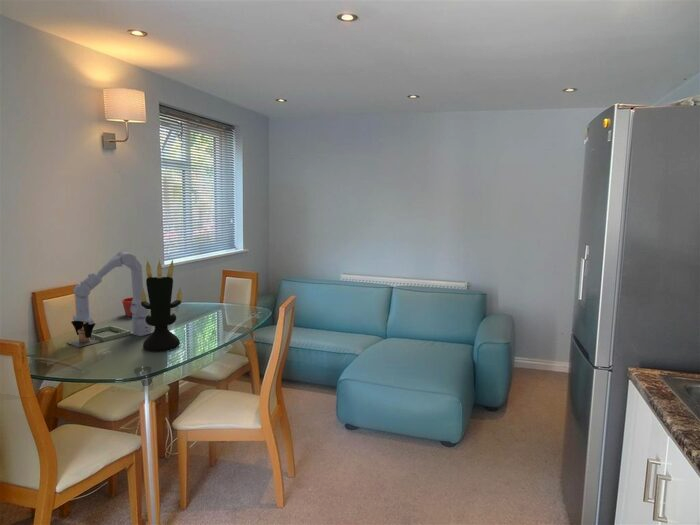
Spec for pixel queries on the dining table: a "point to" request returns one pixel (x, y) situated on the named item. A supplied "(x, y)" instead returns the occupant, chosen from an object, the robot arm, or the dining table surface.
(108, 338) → the pale green square frame
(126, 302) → the flower pot
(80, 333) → the seedling pot
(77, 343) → the slate tile
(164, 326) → the candelabra
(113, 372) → the dining table surface
